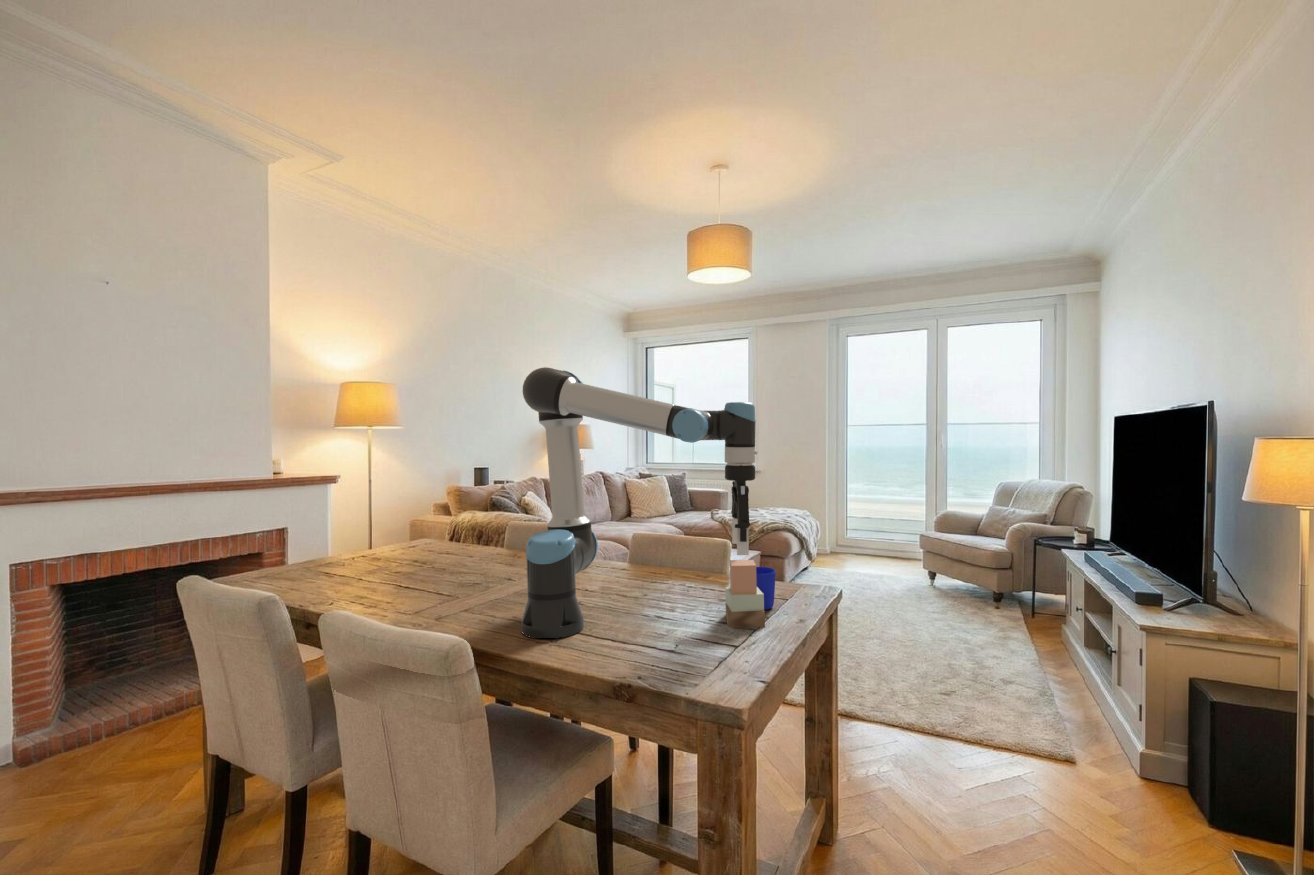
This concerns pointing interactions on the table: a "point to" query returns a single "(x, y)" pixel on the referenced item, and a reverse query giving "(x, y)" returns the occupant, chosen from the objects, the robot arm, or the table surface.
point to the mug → (766, 584)
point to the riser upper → (744, 601)
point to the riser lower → (745, 618)
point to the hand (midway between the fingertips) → (739, 549)
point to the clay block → (743, 577)
